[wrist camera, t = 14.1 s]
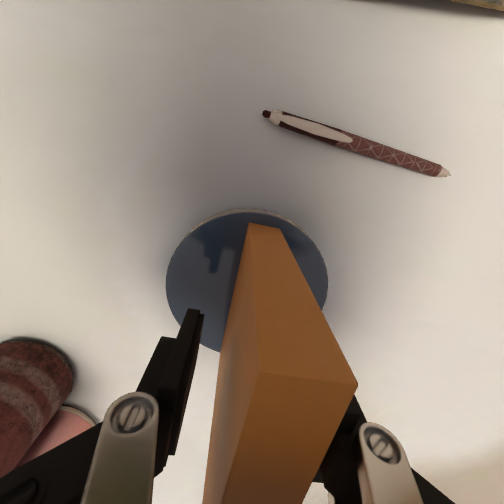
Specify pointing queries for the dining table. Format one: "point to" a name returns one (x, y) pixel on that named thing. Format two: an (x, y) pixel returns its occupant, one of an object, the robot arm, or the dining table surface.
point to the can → (28, 395)
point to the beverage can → (58, 432)
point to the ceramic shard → (485, 3)
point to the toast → (273, 382)
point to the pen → (353, 142)
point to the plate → (230, 267)
